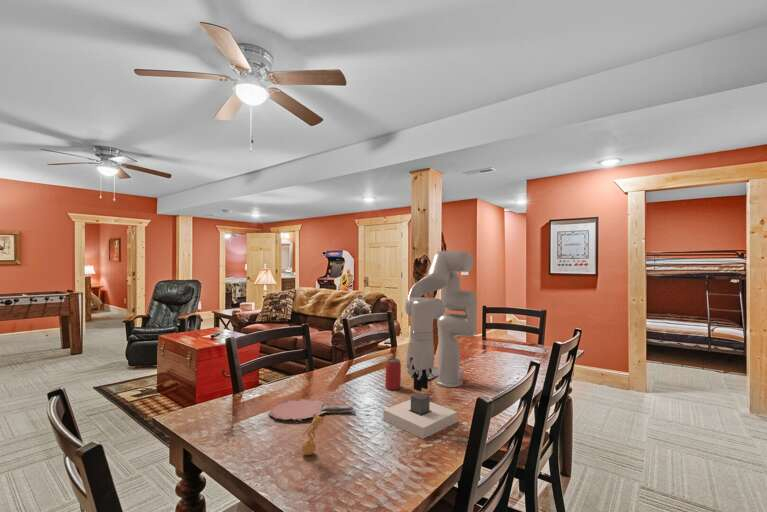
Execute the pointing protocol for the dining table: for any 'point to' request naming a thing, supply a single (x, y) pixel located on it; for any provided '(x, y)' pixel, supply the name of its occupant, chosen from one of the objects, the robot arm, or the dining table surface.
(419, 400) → the plug
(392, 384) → the beer can
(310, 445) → the figurine
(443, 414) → the socket
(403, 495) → the dining table surface
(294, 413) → the table tennis paddle
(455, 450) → the dining table surface
